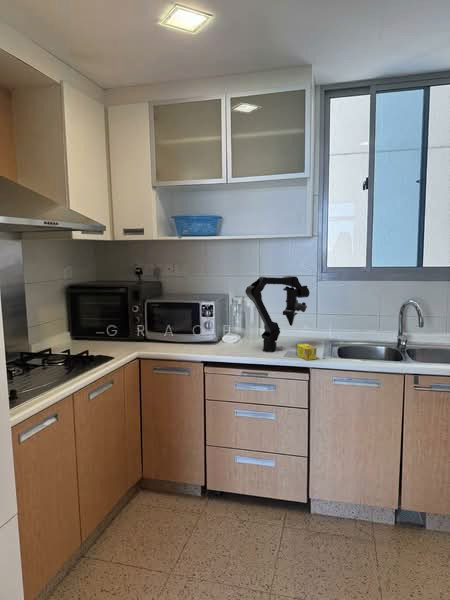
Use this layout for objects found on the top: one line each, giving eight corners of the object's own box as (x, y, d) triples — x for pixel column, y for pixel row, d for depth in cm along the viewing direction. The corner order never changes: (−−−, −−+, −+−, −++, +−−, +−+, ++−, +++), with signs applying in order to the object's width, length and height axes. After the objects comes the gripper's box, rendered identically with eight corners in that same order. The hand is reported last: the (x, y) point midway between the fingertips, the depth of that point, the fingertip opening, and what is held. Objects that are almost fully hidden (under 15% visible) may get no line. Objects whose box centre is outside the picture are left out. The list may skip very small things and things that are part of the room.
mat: (283, 356, 216) (283, 356, 216) (287, 351, 227) (287, 350, 227) (306, 358, 211) (306, 358, 211) (309, 352, 223) (309, 352, 222)
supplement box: (296, 344, 217) (306, 348, 206) (306, 343, 219) (316, 347, 208) (295, 355, 218) (306, 360, 207) (305, 354, 219) (316, 359, 209)
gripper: (303, 300, 219) (302, 329, 221) (308, 296, 236) (308, 323, 238) (282, 300, 223) (282, 328, 225) (289, 296, 240) (289, 322, 242)
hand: (291, 325), depth 233 cm, fingers closed
